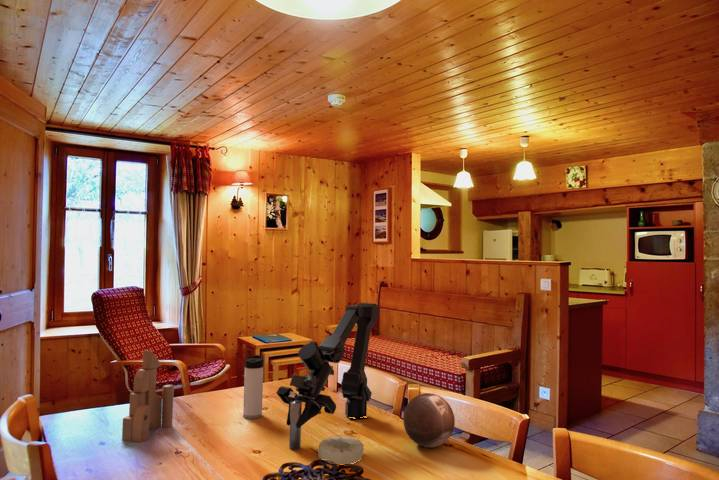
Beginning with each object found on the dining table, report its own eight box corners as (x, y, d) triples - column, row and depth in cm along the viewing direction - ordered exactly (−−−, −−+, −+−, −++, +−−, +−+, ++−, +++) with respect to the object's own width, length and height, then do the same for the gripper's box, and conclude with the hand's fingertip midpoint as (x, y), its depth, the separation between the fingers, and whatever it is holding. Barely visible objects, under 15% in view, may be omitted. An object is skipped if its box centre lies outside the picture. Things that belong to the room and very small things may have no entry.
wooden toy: (141, 443, 139) (144, 355, 140) (121, 440, 141) (125, 353, 142) (174, 425, 154) (177, 346, 155) (156, 423, 156) (159, 344, 157)
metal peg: (299, 445, 140) (300, 400, 141) (301, 449, 137) (302, 403, 138) (288, 446, 139) (289, 400, 140) (290, 450, 136) (291, 404, 137)
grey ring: (354, 445, 141) (354, 435, 141) (368, 462, 130) (369, 451, 130) (314, 450, 137) (314, 439, 137) (325, 467, 126) (326, 456, 126)
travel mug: (264, 413, 168) (266, 355, 168) (258, 419, 161) (260, 359, 162) (247, 412, 168) (248, 354, 169) (240, 418, 162) (242, 358, 162)
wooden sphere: (436, 460, 132) (437, 405, 132) (392, 445, 142) (393, 394, 142) (463, 445, 143) (464, 394, 144) (421, 432, 153) (421, 384, 153)
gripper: (281, 359, 147) (254, 404, 137) (331, 367, 137) (306, 417, 128) (296, 380, 154) (272, 425, 144) (346, 389, 144) (323, 438, 134)
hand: (292, 426), depth 137 cm, fingers closed on metal peg, 3 cm apart
